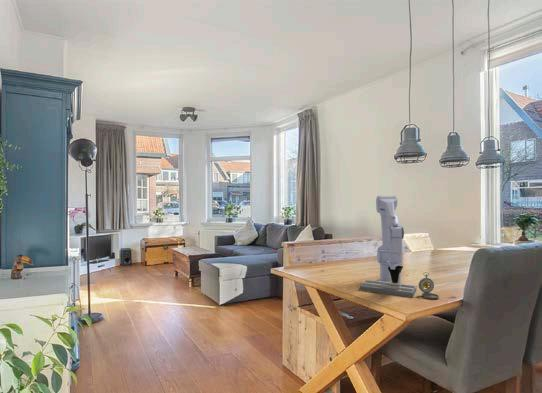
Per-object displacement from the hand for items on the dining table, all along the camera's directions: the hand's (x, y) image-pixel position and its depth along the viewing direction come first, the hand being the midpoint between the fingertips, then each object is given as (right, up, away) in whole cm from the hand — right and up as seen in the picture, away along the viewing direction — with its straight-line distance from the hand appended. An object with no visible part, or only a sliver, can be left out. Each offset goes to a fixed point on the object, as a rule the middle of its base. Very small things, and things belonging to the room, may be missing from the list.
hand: (395, 282), depth 156 cm
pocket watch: (+12, -4, -8) cm, 15 cm away
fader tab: (0, -2, 0) cm, 2 cm away
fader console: (-3, -4, +2) cm, 5 cm away
